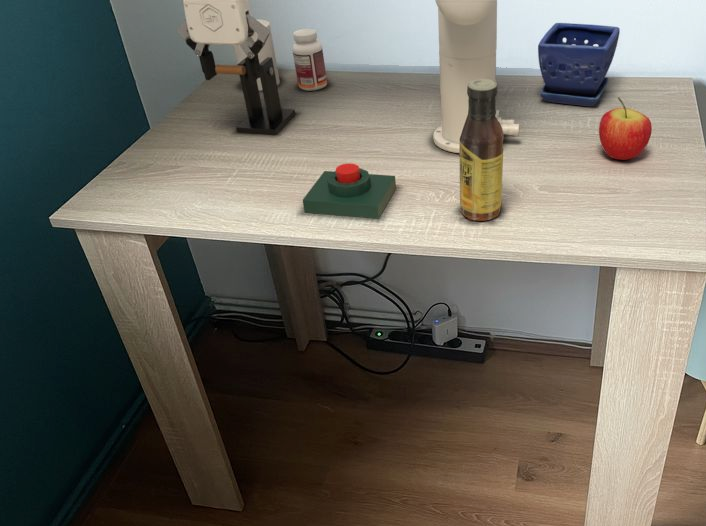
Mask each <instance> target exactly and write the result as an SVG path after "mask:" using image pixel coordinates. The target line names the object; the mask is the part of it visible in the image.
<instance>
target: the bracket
mask: <svg viewBox="0 0 706 526" xmlns="http://www.w3.org/2000/svg"><path fill="white" fill-rule="evenodd" d="M246 58H247V57H246ZM246 58H245V59H246ZM245 59H244V60H242V61H241V62H240V63H239V64H237V63H236V65H238V66H245V67H246V63H245ZM260 69H261V74H260V80H261V85H262V90H261V91H262V96H263V100H264V105H265V107H263V104H262V100H261V94H260V91H259V89H258V84H257V80H256V81H255V82H250V81H249V78H248V73H245V74H244V75H239V79H240V84H242V85H241V88H242V93H243V98H244V104H245V108H246V113H247V116H246V118H244V120H242V121H241V122H240V123H239V124H238V125H237V126H236V127H235V130H236V133H237V134H238V133H239V134H257V135H273V136H276V135H278V134H279V132H280V131H281V130H282V129H284V127H285V126H286V125H287V124H288V123H289V122H290V121H291V120H292V119H293V117H295V115H297V114H296V109H294V108H292V109H291V108H282V104H281V99H280V94H279V89H278V88H279V87H278V85H277V82H276V76H275V71H274V65H273V59H272V57H267V58H266V59H265V60H263V61H262V62H261V63H260Z"/></svg>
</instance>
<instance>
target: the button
mask: <svg viewBox="0 0 706 526" xmlns="http://www.w3.org/2000/svg"><path fill="white" fill-rule="evenodd" d="M359 168H360V166H359V165H358V164H355V163H350V162H349V163H342V164H339V165H338V166H336V167H335V171H336V176H337V181H338V182H340V183H353V182H356V181H358V180H360V171H359Z"/></svg>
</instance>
